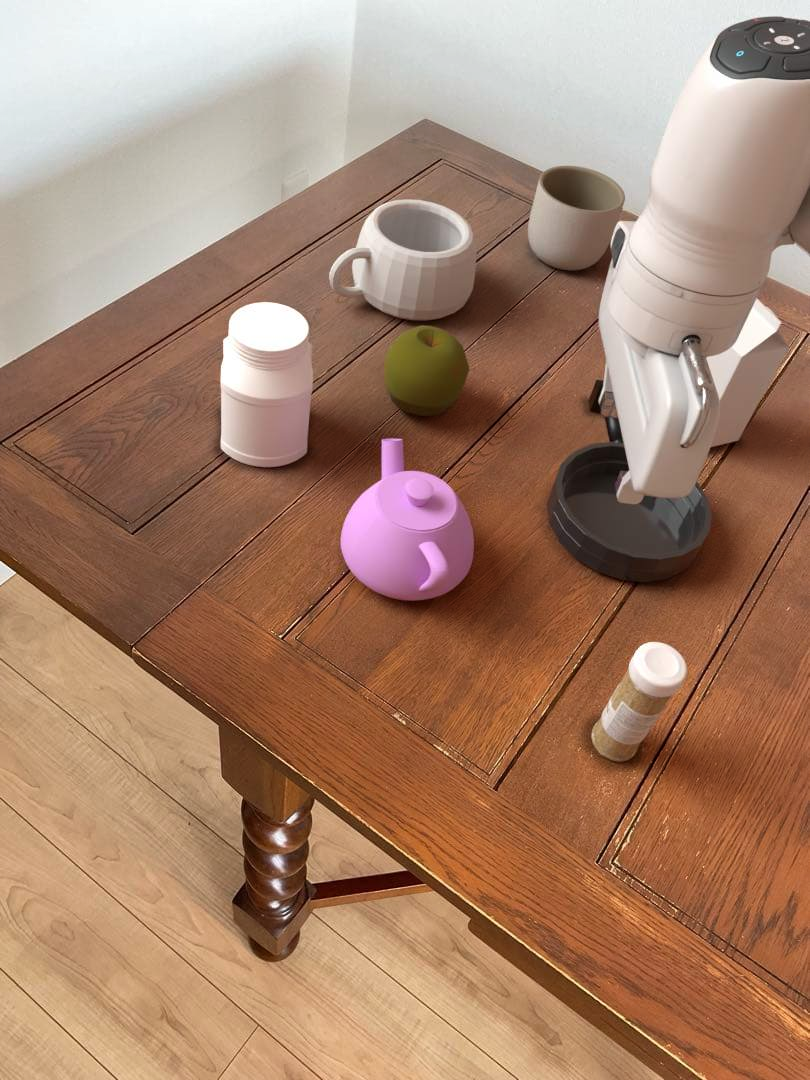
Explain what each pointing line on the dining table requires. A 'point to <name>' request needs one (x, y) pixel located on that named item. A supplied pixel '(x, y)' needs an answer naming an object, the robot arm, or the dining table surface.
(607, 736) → the spice bottle
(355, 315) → the dining table surface
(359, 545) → the teapot
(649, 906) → the dining table surface
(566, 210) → the planter
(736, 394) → the milk carton
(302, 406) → the jar
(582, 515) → the pan
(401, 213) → the mug
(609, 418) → the pan handle
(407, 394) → the apple
